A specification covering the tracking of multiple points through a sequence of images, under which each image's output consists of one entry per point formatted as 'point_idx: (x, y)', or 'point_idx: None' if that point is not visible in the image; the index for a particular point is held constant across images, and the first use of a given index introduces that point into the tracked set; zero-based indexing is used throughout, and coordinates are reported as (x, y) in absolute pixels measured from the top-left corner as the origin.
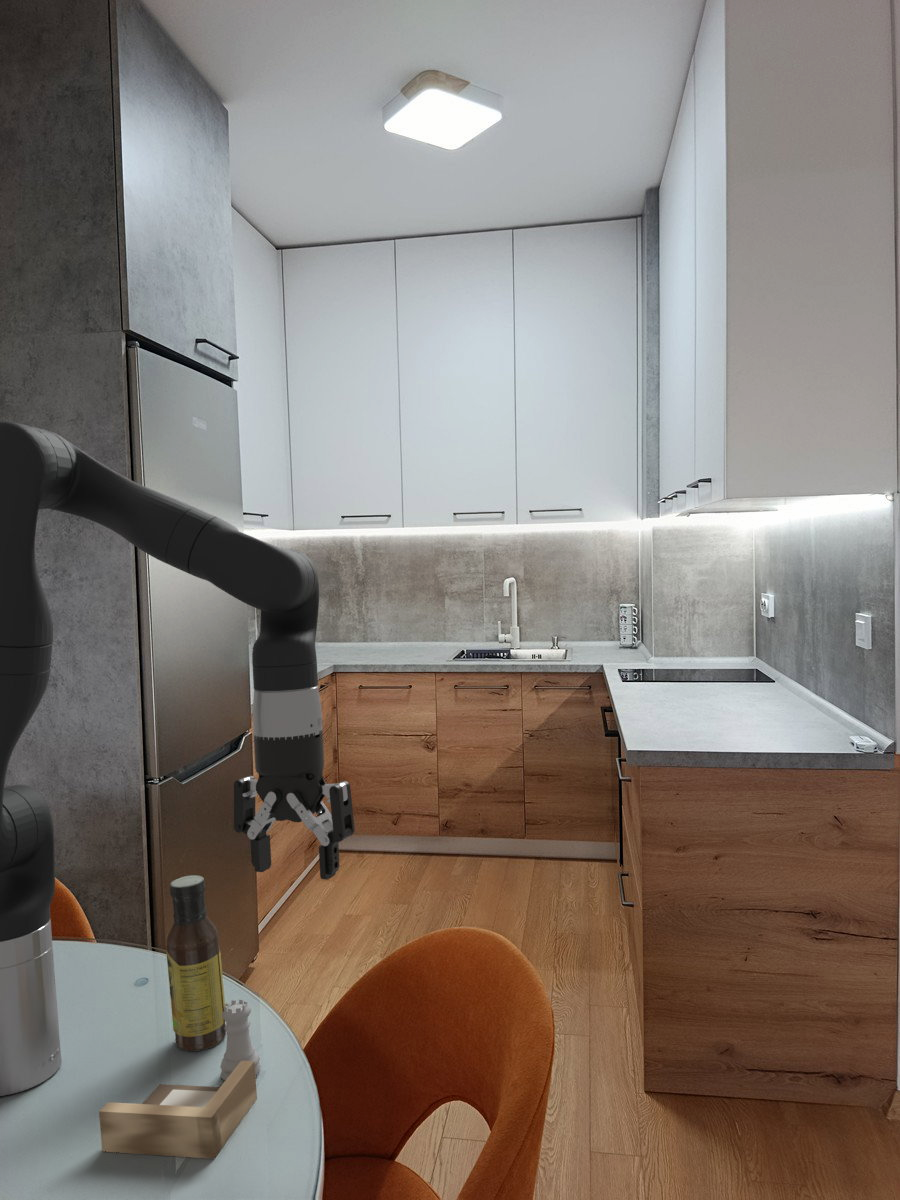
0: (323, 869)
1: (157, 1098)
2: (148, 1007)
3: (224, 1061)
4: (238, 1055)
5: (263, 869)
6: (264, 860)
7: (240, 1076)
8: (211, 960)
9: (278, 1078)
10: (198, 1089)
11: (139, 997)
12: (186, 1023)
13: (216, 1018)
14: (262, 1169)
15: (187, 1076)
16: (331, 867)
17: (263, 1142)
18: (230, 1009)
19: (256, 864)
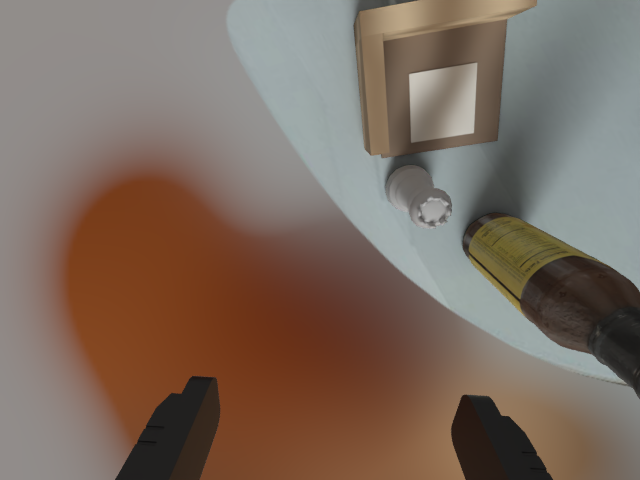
0: (183, 403)
1: (485, 113)
2: None
3: (427, 178)
4: (408, 181)
5: (462, 408)
6: (473, 444)
7: (370, 116)
8: (522, 283)
9: (359, 189)
10: (441, 141)
11: None
12: (512, 222)
13: (477, 244)
14: (286, 23)
15: (471, 169)
16: (156, 417)
17: (313, 72)
18: (435, 197)
19: (493, 418)
